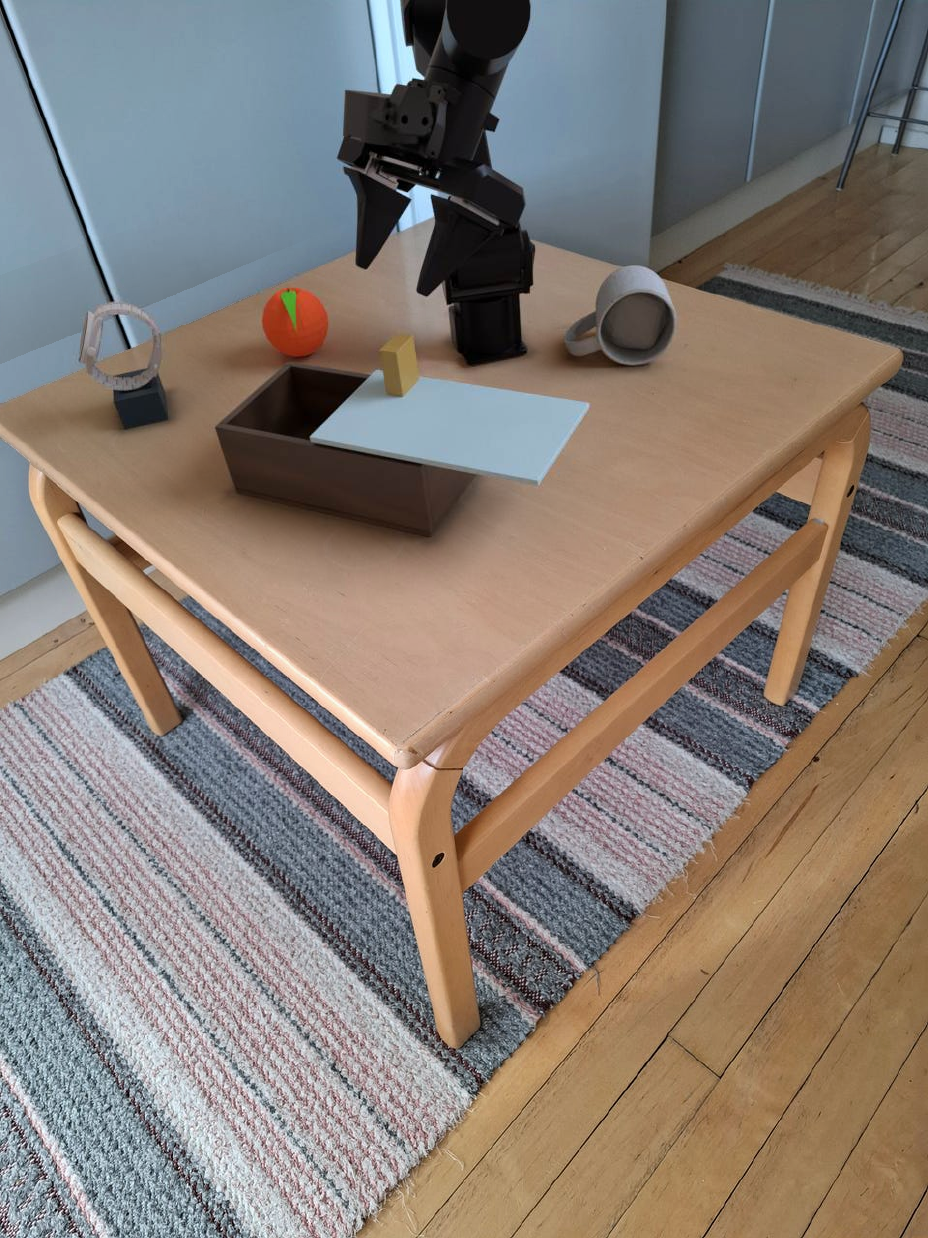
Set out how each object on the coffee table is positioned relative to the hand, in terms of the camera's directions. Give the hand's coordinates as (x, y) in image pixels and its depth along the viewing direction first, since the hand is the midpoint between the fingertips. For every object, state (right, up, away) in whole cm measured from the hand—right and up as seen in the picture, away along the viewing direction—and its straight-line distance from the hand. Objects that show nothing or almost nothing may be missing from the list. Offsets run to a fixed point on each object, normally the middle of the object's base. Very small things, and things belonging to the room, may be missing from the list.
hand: (390, 280), depth 76 cm
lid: (+5, -13, -4) cm, 15 cm away
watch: (-26, -7, +16) cm, 32 cm away
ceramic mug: (+22, -1, +16) cm, 28 cm away
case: (-3, -16, +4) cm, 17 cm away
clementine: (-11, 0, +22) cm, 24 cm away
